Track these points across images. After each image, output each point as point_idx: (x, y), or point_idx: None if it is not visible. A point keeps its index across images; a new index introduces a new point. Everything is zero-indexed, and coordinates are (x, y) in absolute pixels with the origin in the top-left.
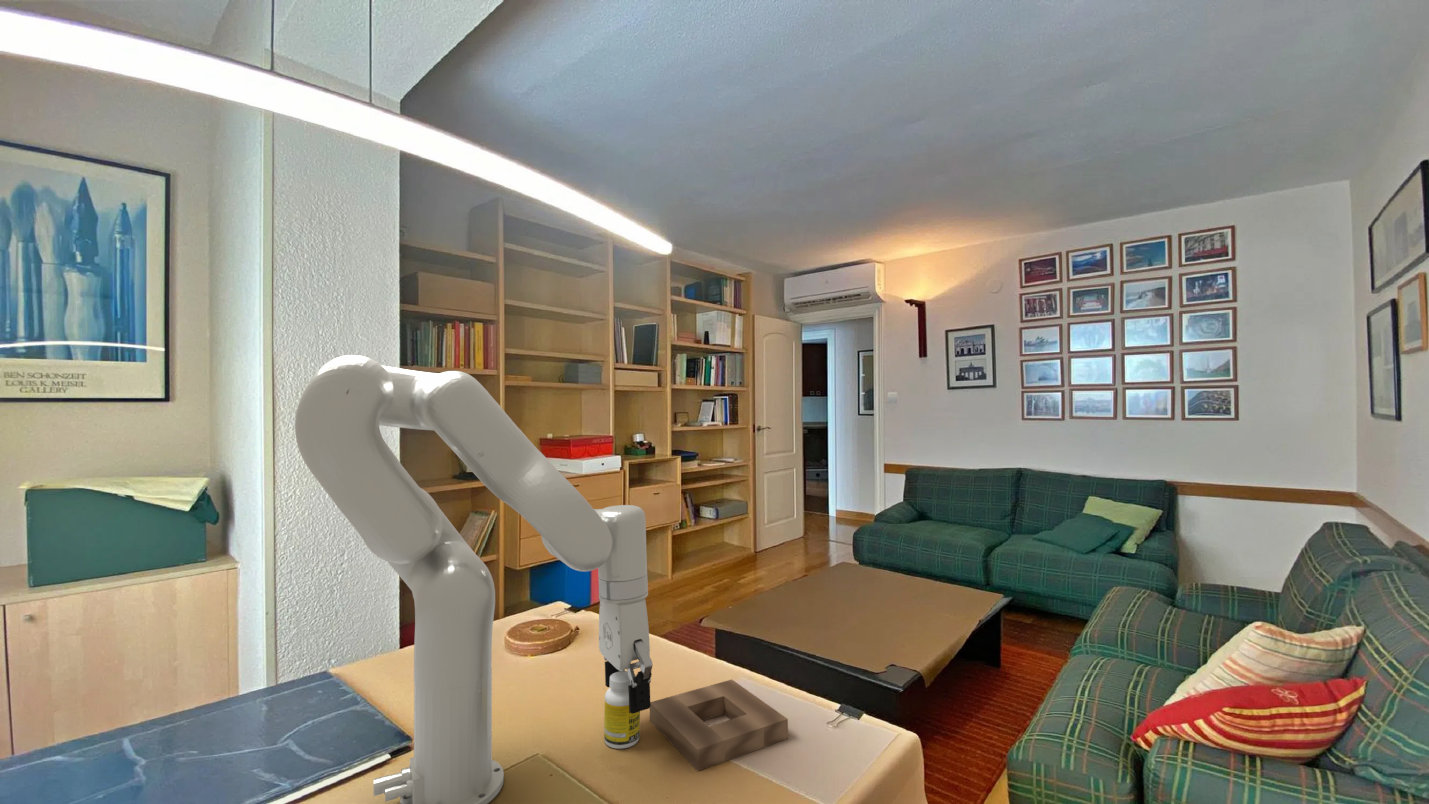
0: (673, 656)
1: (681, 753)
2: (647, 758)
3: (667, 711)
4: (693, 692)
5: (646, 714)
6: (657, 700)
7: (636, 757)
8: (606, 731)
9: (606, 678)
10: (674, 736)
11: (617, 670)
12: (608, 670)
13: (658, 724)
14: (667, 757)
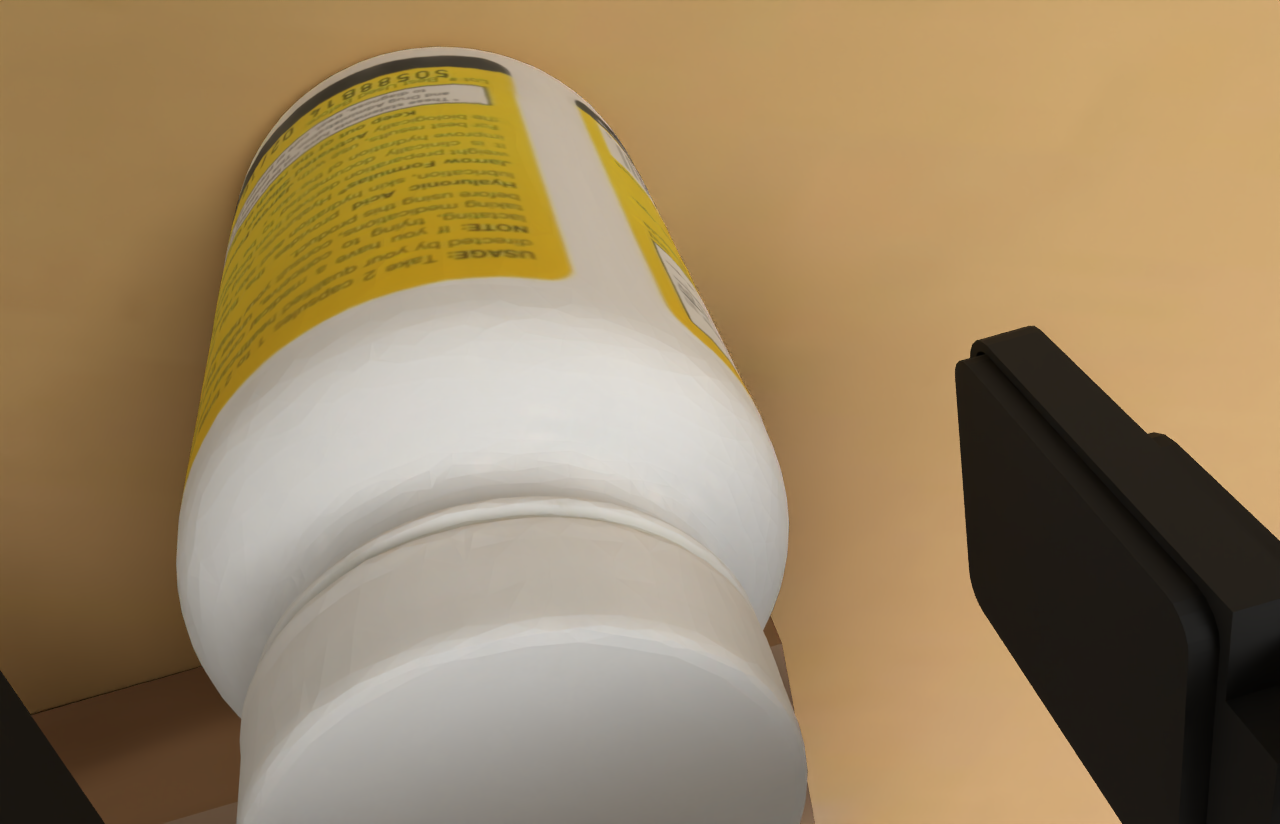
0: None
1: (50, 714)
2: (20, 444)
3: None
4: None
5: (860, 498)
6: None
7: (54, 347)
8: (355, 114)
9: (1048, 411)
10: (182, 742)
11: (1074, 659)
12: (1107, 543)
13: None
14: (18, 605)
